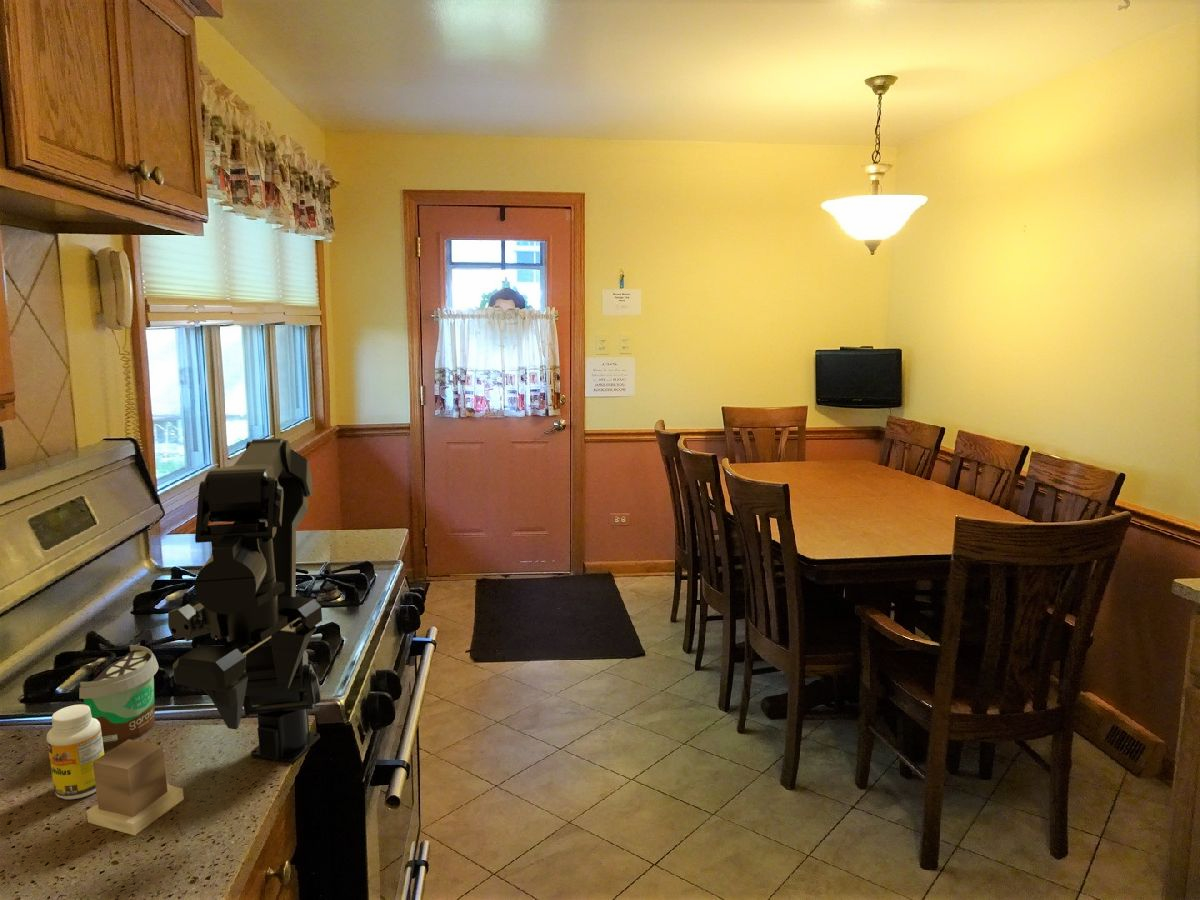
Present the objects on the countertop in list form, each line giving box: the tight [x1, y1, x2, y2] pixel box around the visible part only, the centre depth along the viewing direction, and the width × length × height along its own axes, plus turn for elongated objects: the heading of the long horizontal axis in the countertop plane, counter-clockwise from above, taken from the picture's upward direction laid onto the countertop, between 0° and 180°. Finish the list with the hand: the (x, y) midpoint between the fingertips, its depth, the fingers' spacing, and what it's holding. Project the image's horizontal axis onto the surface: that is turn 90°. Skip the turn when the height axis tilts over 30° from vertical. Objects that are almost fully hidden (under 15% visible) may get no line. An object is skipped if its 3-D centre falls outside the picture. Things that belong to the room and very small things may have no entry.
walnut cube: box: [93, 739, 168, 817], centre depth 96 cm, size 5×5×6 cm
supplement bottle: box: [46, 704, 105, 800], centre depth 100 cm, size 6×6×10 cm
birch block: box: [86, 784, 185, 836], centre depth 97 cm, size 7×7×2 cm
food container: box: [78, 644, 160, 748], centre depth 114 cm, size 12×6×10 cm, turn 179°
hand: (259, 707), depth 95 cm, fingers open, 9 cm apart
